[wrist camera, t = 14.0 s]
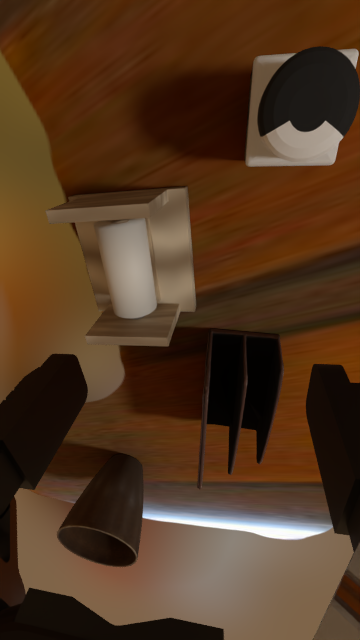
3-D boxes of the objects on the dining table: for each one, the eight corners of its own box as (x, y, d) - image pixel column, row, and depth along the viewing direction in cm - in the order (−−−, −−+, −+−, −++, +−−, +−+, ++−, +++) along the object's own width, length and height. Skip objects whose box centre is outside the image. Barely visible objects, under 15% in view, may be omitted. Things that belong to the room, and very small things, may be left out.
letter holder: (203, 417, 53) (192, 497, 41) (208, 326, 42) (197, 399, 31) (259, 425, 52) (265, 511, 40) (279, 333, 41) (296, 412, 29)
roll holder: (73, 195, 36) (26, 211, 28) (187, 186, 33) (170, 201, 25) (102, 306, 44) (72, 343, 36) (196, 306, 41) (185, 346, 33)
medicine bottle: (250, 73, 27) (257, 35, 17) (333, 67, 26) (393, 23, 16) (243, 161, 31) (246, 172, 21) (315, 159, 30) (355, 171, 20)
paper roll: (107, 215, 34) (84, 228, 30) (151, 213, 33) (134, 226, 29) (123, 297, 40) (106, 318, 36) (162, 298, 39) (149, 320, 34)
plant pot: (107, 482, 71) (76, 562, 57) (83, 442, 63) (42, 523, 50) (165, 484, 67) (147, 571, 53) (147, 442, 60) (120, 530, 46)
